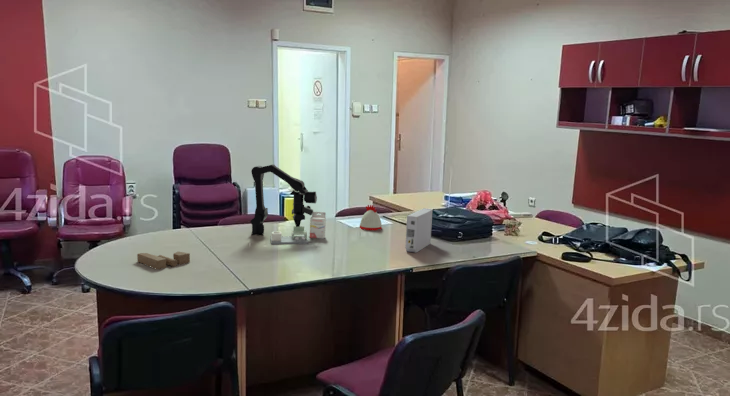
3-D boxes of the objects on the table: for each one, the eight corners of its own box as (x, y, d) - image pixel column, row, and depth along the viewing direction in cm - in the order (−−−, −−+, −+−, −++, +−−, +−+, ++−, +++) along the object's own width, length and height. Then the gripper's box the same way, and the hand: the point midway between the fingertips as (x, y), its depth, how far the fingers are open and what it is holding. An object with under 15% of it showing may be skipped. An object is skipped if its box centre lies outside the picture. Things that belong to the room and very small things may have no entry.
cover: (292, 238, 306) (292, 229, 305) (291, 235, 312) (291, 226, 311) (306, 238, 307) (307, 229, 306) (305, 235, 314) (305, 226, 313)
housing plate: (271, 244, 296) (271, 237, 296) (270, 238, 310) (270, 231, 309) (308, 243, 301) (308, 236, 300) (305, 237, 314) (305, 231, 314)
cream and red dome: (368, 224, 357) (369, 202, 355) (385, 228, 349) (386, 205, 347) (355, 228, 346) (356, 204, 344) (373, 231, 338) (374, 207, 336)
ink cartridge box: (309, 237, 315) (309, 212, 312) (311, 235, 319) (311, 211, 317) (324, 238, 314) (324, 213, 311) (325, 236, 319) (326, 212, 316)
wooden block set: (158, 259, 242) (136, 251, 253) (158, 271, 243) (136, 263, 254) (191, 251, 255) (169, 245, 266) (191, 263, 256) (169, 256, 267)
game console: (431, 243, 313) (433, 209, 310) (415, 253, 288) (417, 216, 285) (421, 242, 315) (423, 208, 312) (405, 252, 291) (407, 215, 287)
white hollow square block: (272, 240, 300) (272, 233, 299) (271, 238, 305) (271, 231, 304) (281, 240, 301) (281, 233, 300) (280, 238, 306) (281, 231, 305)
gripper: (314, 205, 307) (313, 232, 310) (310, 199, 325) (309, 225, 328) (294, 205, 305) (293, 232, 307) (291, 199, 323) (291, 225, 325)
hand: (297, 228), depth 317 cm, fingers closed
